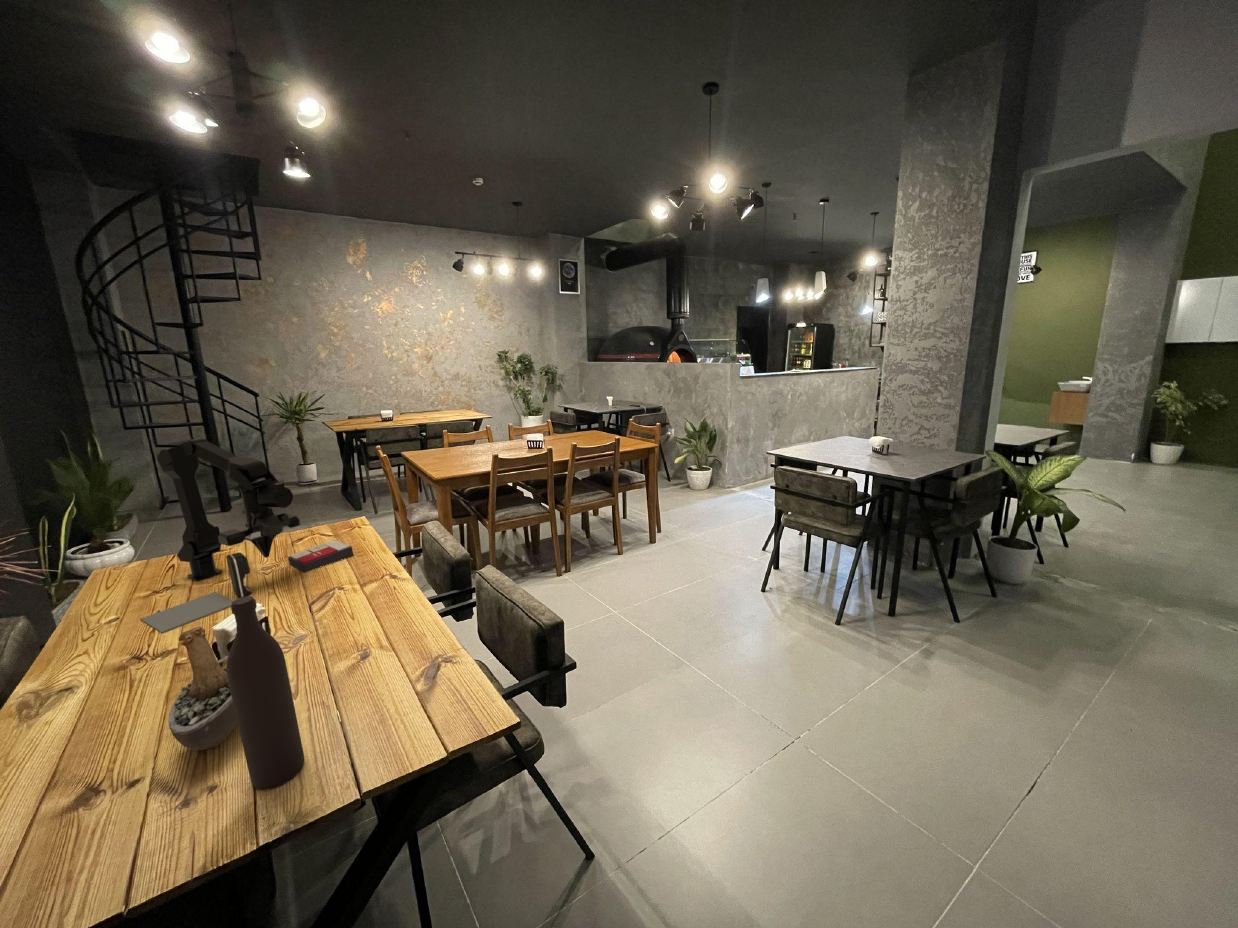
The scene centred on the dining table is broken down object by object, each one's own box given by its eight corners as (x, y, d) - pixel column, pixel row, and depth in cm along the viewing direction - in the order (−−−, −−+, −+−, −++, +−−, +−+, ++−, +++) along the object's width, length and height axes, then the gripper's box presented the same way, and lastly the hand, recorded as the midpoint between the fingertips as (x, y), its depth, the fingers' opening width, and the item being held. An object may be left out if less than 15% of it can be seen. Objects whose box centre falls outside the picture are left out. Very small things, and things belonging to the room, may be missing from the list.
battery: (255, 593, 137) (247, 555, 134) (239, 598, 134) (230, 560, 132) (249, 586, 141) (241, 549, 139) (233, 591, 139) (224, 553, 136)
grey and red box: (286, 554, 155) (335, 537, 167) (289, 567, 156) (338, 549, 168) (302, 562, 149) (351, 544, 161) (305, 575, 150) (354, 556, 162)
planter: (246, 689, 97) (226, 597, 93) (291, 719, 89) (271, 620, 85) (149, 740, 85) (120, 637, 80) (190, 780, 77) (161, 668, 72)
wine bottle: (301, 747, 83) (268, 584, 76) (309, 773, 77) (275, 600, 71) (249, 770, 78) (210, 599, 71) (254, 800, 73) (212, 618, 66)
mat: (140, 619, 124) (140, 618, 124) (215, 592, 138) (215, 591, 138) (162, 633, 118) (161, 631, 118) (238, 603, 132) (238, 602, 131)
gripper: (232, 519, 127) (243, 575, 130) (306, 500, 142) (315, 550, 146) (211, 513, 132) (223, 567, 135) (285, 495, 148) (294, 544, 151)
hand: (266, 556), depth 142 cm, fingers closed
